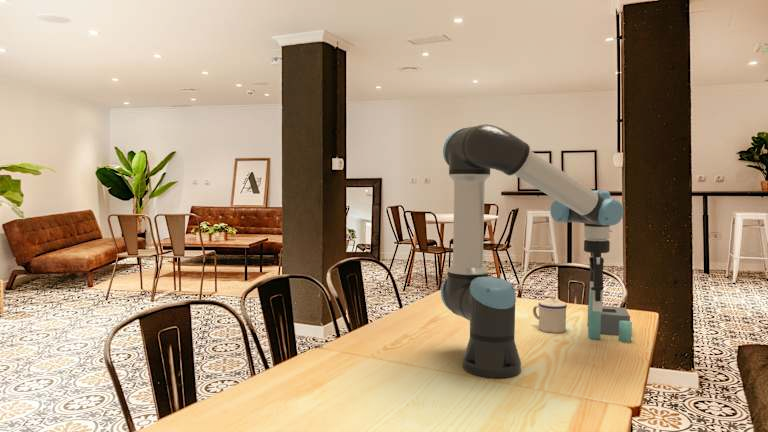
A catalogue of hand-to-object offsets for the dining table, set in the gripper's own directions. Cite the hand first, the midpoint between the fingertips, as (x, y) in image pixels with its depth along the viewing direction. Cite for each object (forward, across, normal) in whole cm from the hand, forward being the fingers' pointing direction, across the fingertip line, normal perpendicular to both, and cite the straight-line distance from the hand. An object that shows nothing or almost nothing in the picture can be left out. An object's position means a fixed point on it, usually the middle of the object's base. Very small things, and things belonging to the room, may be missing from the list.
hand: (595, 306), depth 167 cm
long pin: (+10, 0, 0) cm, 10 cm away
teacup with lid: (+10, +7, +14) cm, 19 cm away
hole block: (+10, +12, -5) cm, 16 cm away
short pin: (+10, 0, -9) cm, 14 cm away
